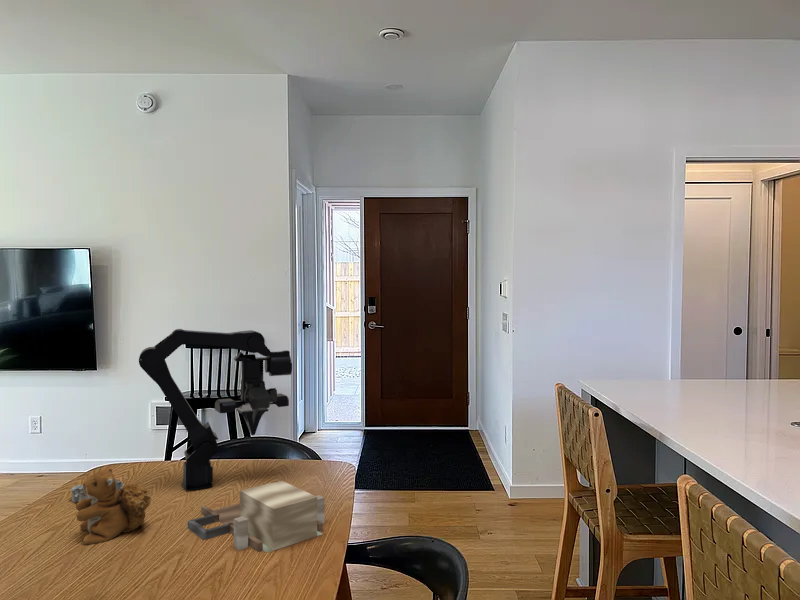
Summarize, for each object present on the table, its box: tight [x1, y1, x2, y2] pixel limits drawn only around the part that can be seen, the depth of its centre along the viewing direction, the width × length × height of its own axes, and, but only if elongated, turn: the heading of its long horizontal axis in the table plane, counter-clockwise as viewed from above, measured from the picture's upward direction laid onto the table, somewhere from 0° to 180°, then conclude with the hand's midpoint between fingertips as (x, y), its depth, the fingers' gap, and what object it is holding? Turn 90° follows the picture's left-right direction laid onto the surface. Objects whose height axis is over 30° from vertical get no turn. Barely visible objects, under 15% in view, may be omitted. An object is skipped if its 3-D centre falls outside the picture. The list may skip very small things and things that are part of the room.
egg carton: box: [69, 477, 126, 503], centre depth 139 cm, size 11×8×4 cm
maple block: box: [239, 480, 318, 552], centre depth 117 cm, size 14×10×8 cm
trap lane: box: [187, 494, 326, 554], centre depth 122 cm, size 28×26×6 cm
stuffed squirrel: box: [75, 467, 152, 546], centre depth 118 cm, size 10×14×13 cm
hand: (252, 434), depth 153 cm, fingers closed
